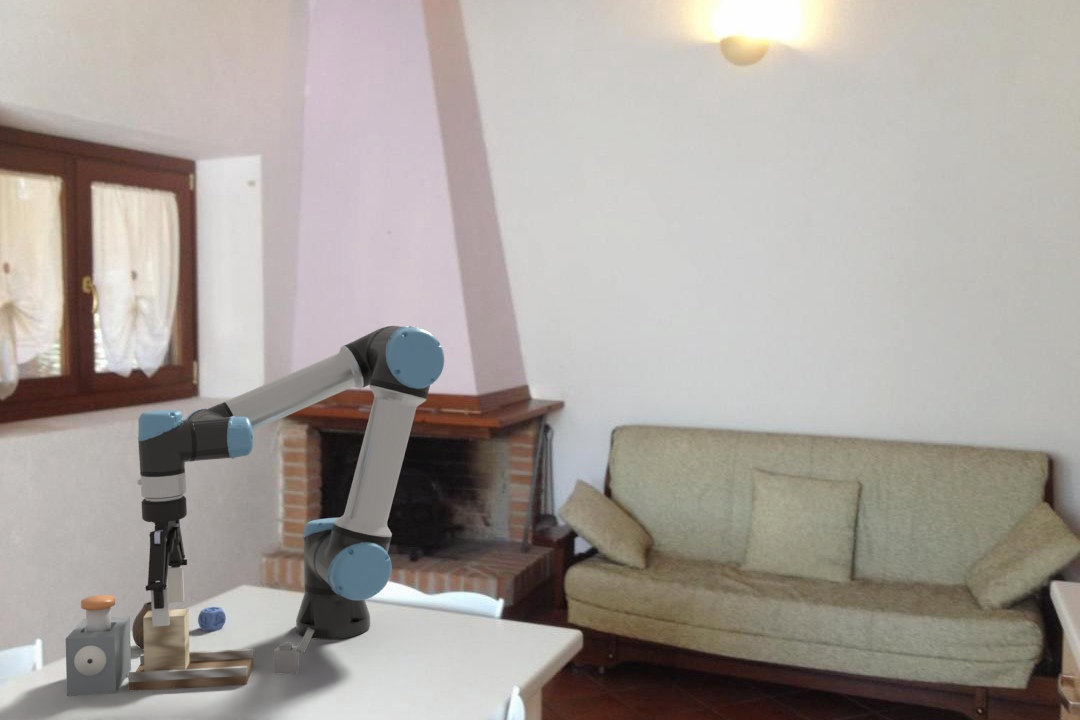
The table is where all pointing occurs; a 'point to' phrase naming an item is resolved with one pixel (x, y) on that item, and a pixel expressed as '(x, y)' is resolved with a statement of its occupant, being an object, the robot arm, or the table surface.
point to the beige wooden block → (167, 642)
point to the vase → (140, 625)
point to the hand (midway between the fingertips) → (169, 613)
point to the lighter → (290, 655)
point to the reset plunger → (98, 612)
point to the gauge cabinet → (98, 658)
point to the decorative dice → (211, 619)
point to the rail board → (197, 671)
